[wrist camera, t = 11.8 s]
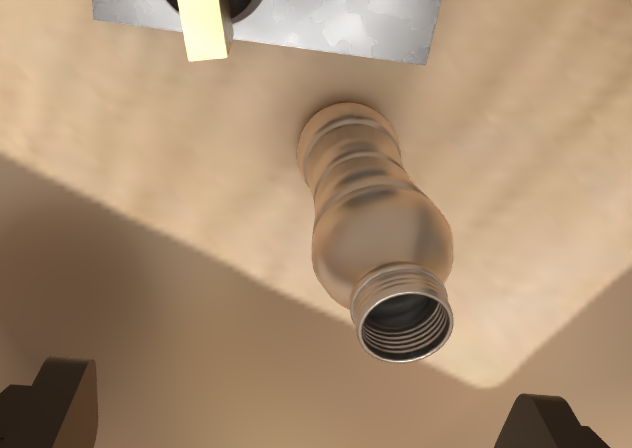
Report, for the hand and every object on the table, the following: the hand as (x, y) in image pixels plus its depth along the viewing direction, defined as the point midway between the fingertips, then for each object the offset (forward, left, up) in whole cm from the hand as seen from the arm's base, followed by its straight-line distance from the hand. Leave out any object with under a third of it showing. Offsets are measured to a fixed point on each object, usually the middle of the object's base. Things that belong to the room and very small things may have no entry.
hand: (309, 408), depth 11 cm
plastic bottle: (-5, +5, -29) cm, 30 cm away
